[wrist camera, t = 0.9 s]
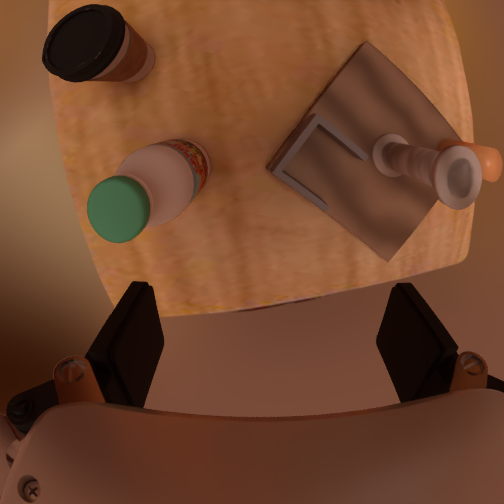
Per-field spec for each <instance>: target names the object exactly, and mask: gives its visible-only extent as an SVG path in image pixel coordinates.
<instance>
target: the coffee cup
mask: <svg viewBox="0 0 504 504" xmlns="http://www.w3.org/2000/svg"><path fill="white" fill-rule="evenodd" d="M154 61H155V55H154V52H153V50H152V48H151V47H150V46H149V45H148V44H147V43H146V42H145V41H144V40H143V39H142V38H141V37H140V35H139V34H138V33H137V32H136V31H135V30H134V29H133V28H132V27H131V26H130V25H129V24H128V23H127V22H126V21H125V20H124V19H123V16H122V15H121V14H120V13H119V12H118V11H117V10H115V9H114V8H112V7H110V6H106V5H98V4H90V5H85V6H82V7H80V8H77V9H76V10H74V11H72V12H70V13H69V14H67V15H66V16H65V17H63V18H62V19H61V20H60V21H59V22H58V23H57V24H56V25H55V26H54V27H53V29H52V30H51V31H50V33H49V35H48V37H47V39H46V41H45V44H44V48H43V55H42V62H43V64H44V65H45V67H46V69H47V70H48V71H49V72H50V73H52V74H54V75H56V76H59V77H60V78H61V79H63V80H66V81H70V82H83V81H118V82H136V81H139V80H141V79H143V78H144V77H145V76H147V74H148V73H149V72H150V71H151V69H152V67H153V65H154Z"/></svg>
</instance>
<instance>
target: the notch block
mask: <svg viewBox="0 0 504 504" xmlns="http://www.w3.org/2000/svg"><path fill="white" fill-rule="evenodd" d="M316 127H318V128H319V129H320V130H322V131H323V132H324V133H326V134H327V135H328V136H329V137H331V138H332V139H333V140H334V141H336V142H337V143H338V144H339V145H340V146H342V147H343V148H344V149H345V150H346V151H348V152H349V153H350V154H351V155H352V156H353V157H355V158H357V159H360V160H362V161H366V159H367V158H368V157H369V156H368V155H367V154H366V153H365V152H364V151H363V150H361V149H360V148H359V147H358V146H357V145H356V144H355V143H353V142H352V141H351V140H350V139H349V138H347V137H346V136H345V135H344V134H343V133H341V132H340V131H339V130H338V129H337V128H335V127H334V126H333V125H332V124H330V123H329V122H328V121H327V120H325V119H324V118H323V117H321V116H320V115H319V114H318V113H316V114H311V115H310V116H309V118H308V119H307V120H306V122H305V123H304V124H303V126H302V127H301V128H300V130H299V131H298V132H297V134H296V135H295V136H294V137H293V139H292V140H291V141H290V143H289V144H288V145H287V147H286V148H285V149H284V151H283V152H282V154H281V155H280V156H279V158H278V159H277V160H276V162H275V163H274V164H273V166H272V167H271V168H270V170H271V172H272V174H273V175H275V176H276V177H278V178H279V179H281V180H282V181H283V182H285V183H286V184H288V185H289V186H290V187H292V188H293V189H295V190H296V191H297V192H299V193H300V194H301V195H303V196H304V197H306V198H307V199H308V200H310V201H311V202H312V203H314V204H315V205H316V206H318V207H319V208H320V209H322V210H323V211H324V212H326V211H327V210H328V208H329V206H328V205H327V203H326V202H325V201H324V200H323V199H322V198H320V197H319V196H318V195H317V194H315V193H314V192H313V191H311V190H310V189H309V188H307V187H306V186H305V185H303V184H302V183H300V182H299V181H298V180H296V179H295V178H294V177H292V176H291V175H289V174H288V173H287V172H285V171H284V169H285V167H286V166H287V165H288V163H289V162H290V161H291V159H292V158H293V157H294V155H295V154H296V153H297V151H298V150H299V149H300V147H301V146H302V145H303V143H304V142H305V141H306V139H307V138H308V137H309V136H310V134H311V133H312V132H313V130H314V129H315V128H316Z"/></svg>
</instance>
